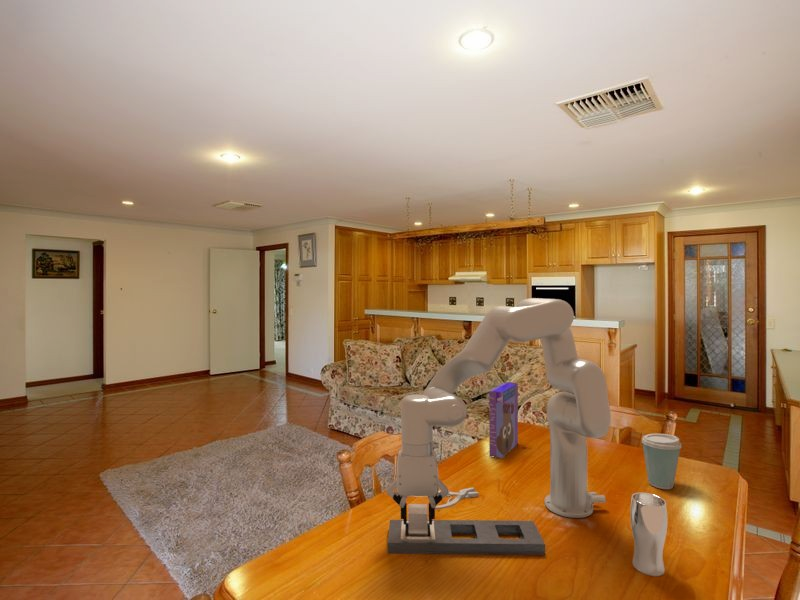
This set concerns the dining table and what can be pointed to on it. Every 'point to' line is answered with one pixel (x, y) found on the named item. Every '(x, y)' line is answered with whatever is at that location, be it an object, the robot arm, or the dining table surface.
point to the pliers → (459, 496)
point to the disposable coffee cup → (661, 459)
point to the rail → (482, 543)
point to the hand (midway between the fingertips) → (417, 520)
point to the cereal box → (503, 419)
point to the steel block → (418, 520)
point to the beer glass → (648, 532)
